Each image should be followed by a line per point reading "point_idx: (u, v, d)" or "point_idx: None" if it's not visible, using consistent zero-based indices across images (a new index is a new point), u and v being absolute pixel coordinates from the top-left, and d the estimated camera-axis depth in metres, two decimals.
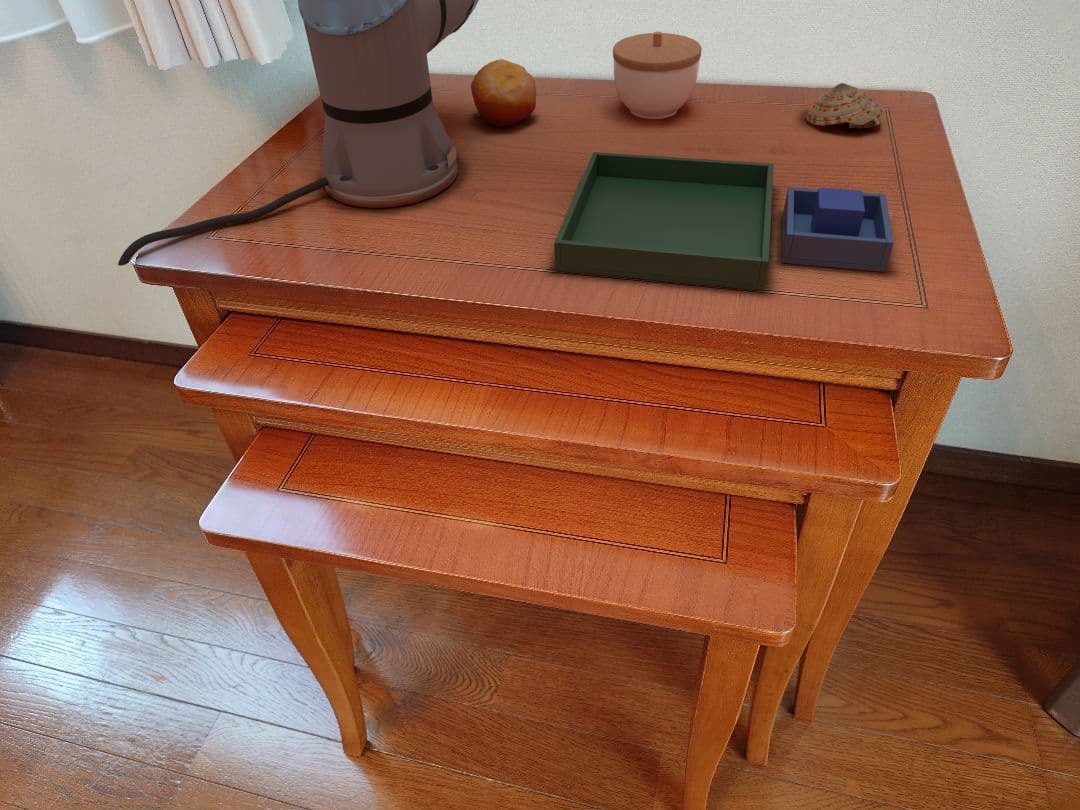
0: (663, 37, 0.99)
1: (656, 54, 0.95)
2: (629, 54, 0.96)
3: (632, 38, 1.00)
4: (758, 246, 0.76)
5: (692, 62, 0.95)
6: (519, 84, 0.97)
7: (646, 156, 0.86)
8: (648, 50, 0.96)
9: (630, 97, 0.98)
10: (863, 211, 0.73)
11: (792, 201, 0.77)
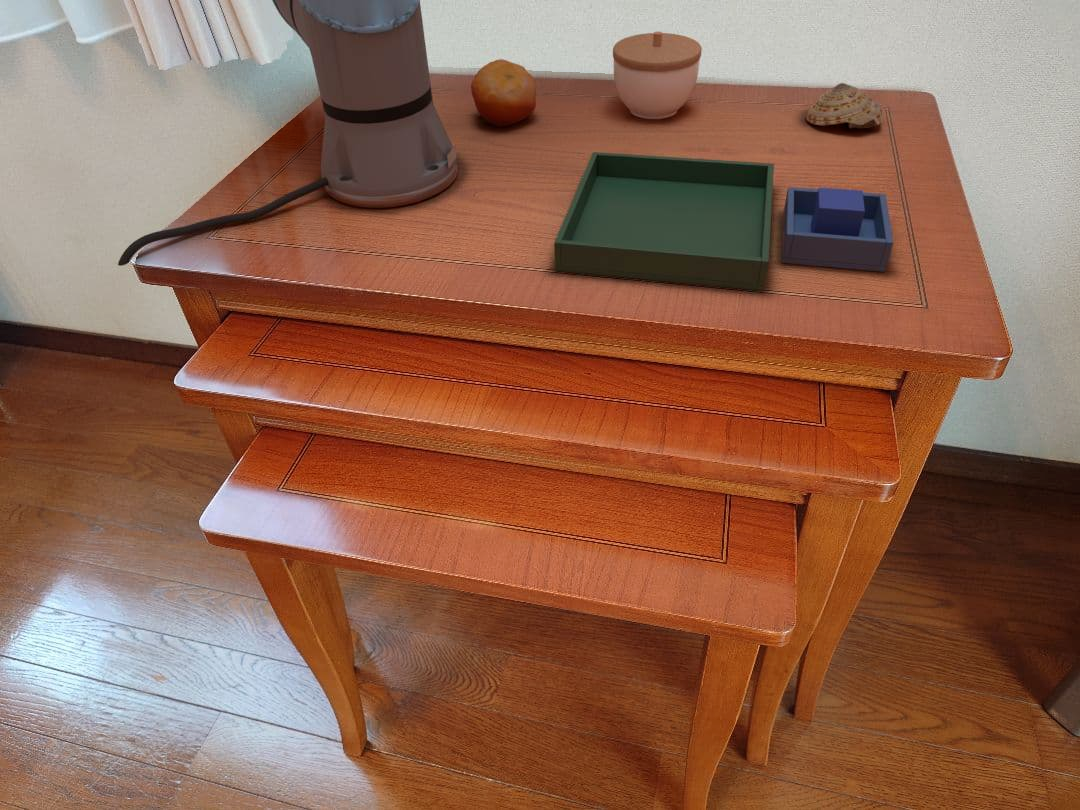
0: (663, 37, 0.99)
1: (656, 54, 0.95)
2: (629, 54, 0.96)
3: (632, 38, 1.00)
4: (758, 246, 0.76)
5: (692, 62, 0.95)
6: (519, 84, 0.97)
7: (646, 156, 0.86)
8: (648, 50, 0.96)
9: (630, 97, 0.98)
10: (863, 211, 0.73)
11: (792, 201, 0.77)
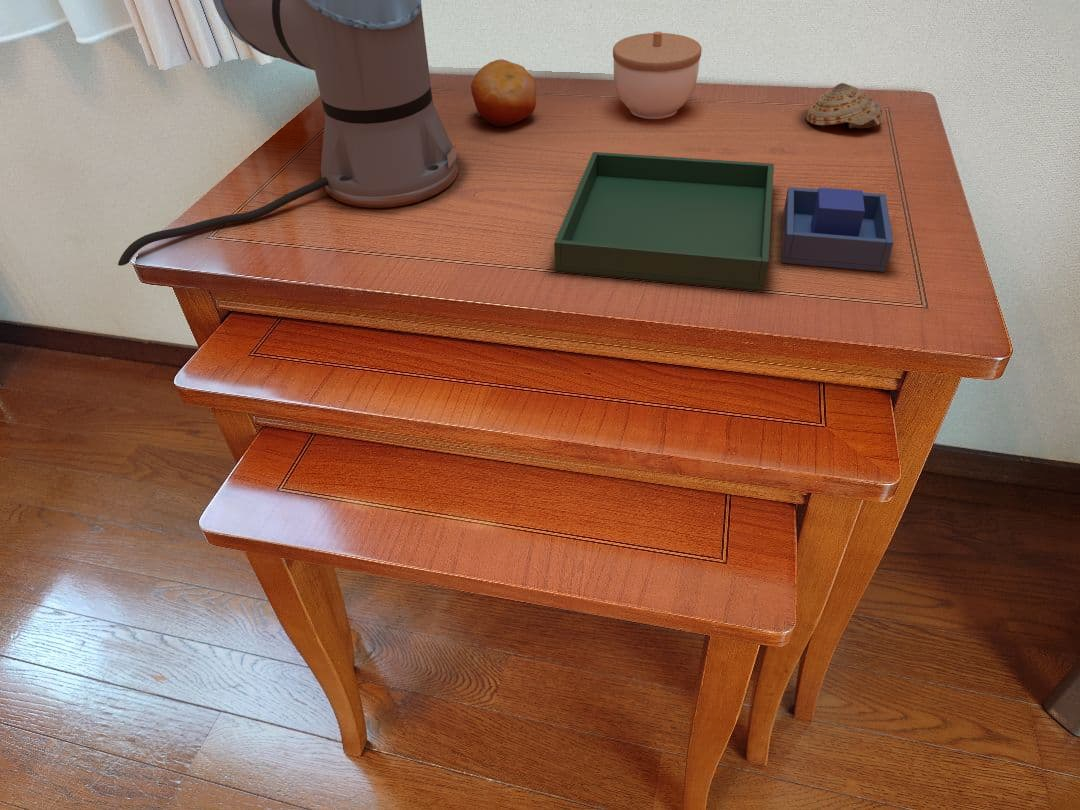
0: (663, 37, 0.99)
1: (656, 54, 0.95)
2: (629, 54, 0.96)
3: (632, 38, 1.00)
4: (758, 246, 0.76)
5: (692, 62, 0.95)
6: (519, 84, 0.97)
7: (646, 156, 0.86)
8: (648, 50, 0.96)
9: (630, 97, 0.98)
10: (863, 211, 0.73)
11: (792, 201, 0.77)
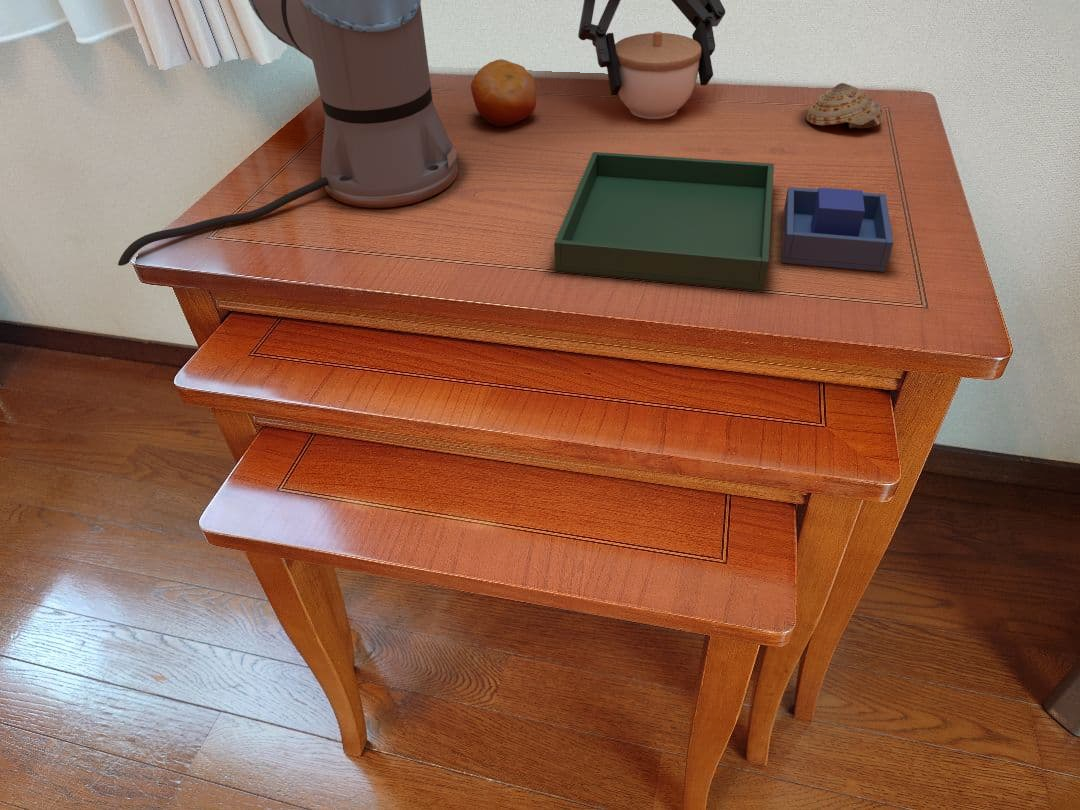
0: (663, 37, 0.99)
1: (656, 54, 0.95)
2: (629, 54, 0.96)
3: (632, 38, 1.00)
4: (758, 246, 0.76)
5: (692, 62, 0.95)
6: (519, 84, 0.97)
7: (646, 156, 0.86)
8: (648, 50, 0.96)
9: (630, 97, 0.98)
10: (863, 211, 0.73)
11: (792, 201, 0.77)
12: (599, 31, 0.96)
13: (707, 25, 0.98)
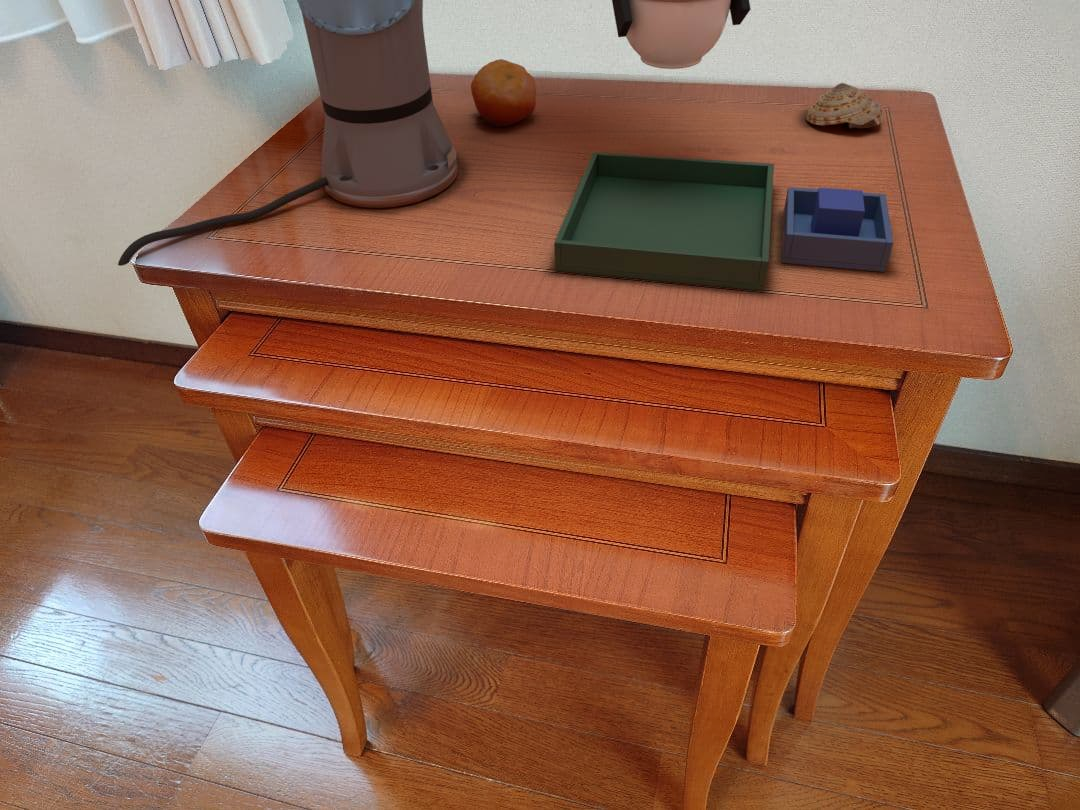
0: None
1: None
2: None
3: None
4: (758, 246, 0.76)
5: None
6: (519, 84, 0.97)
7: (646, 156, 0.86)
8: None
9: (643, 38, 0.75)
10: (863, 211, 0.73)
11: (792, 201, 0.77)
12: None
13: None
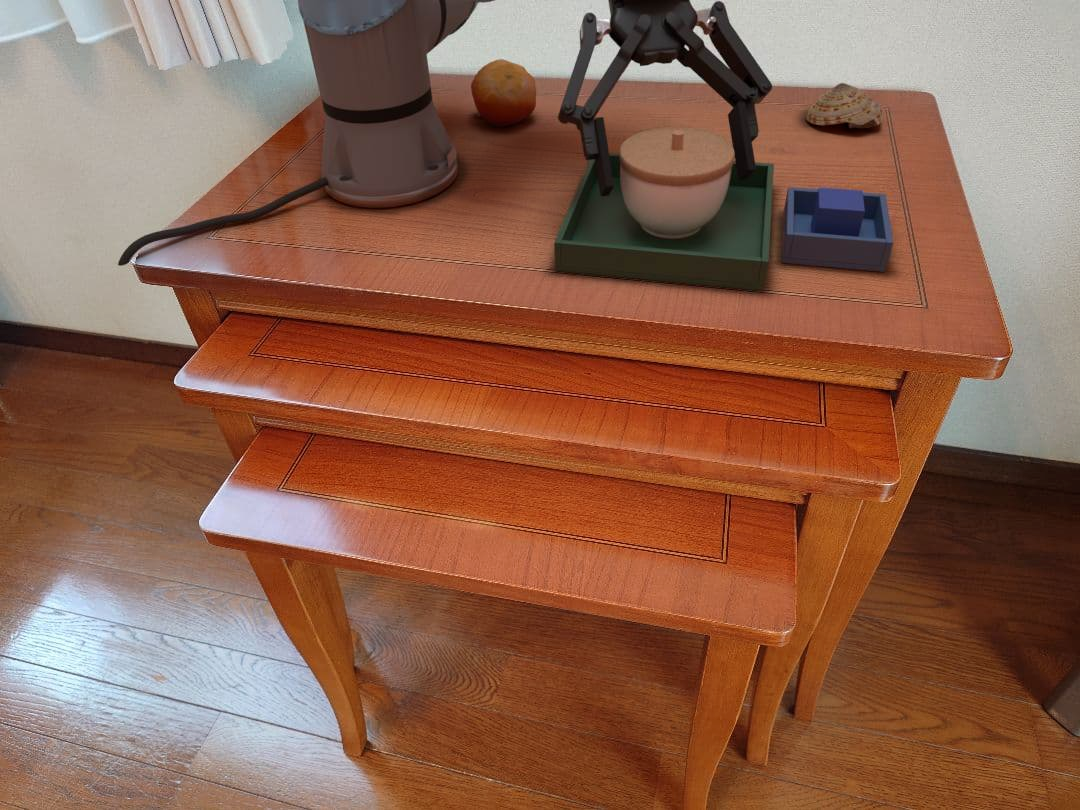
0: (684, 134, 0.77)
1: (676, 162, 0.73)
2: (640, 161, 0.73)
3: (644, 135, 0.77)
4: (758, 246, 0.76)
5: (723, 173, 0.73)
6: (519, 84, 0.97)
7: None
8: (665, 155, 0.74)
9: (642, 214, 0.76)
10: (863, 211, 0.73)
11: (792, 201, 0.77)
12: (584, 114, 0.73)
13: (749, 104, 0.75)
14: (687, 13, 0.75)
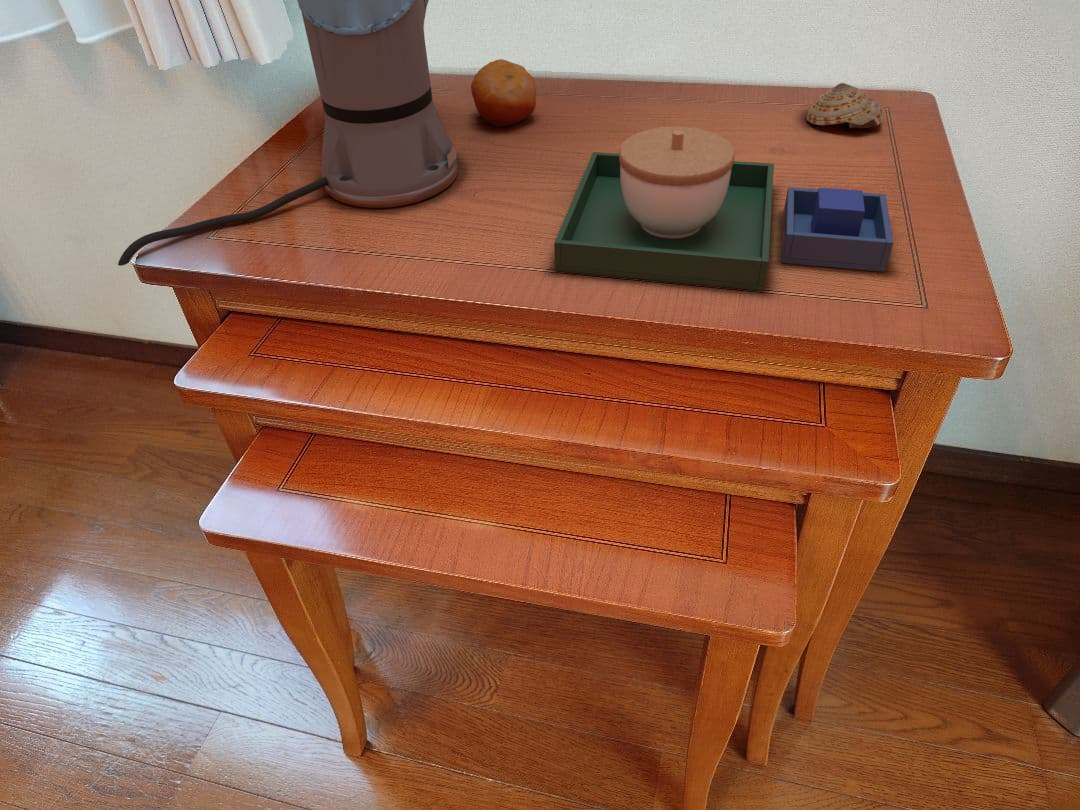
0: (684, 134, 0.77)
1: (676, 162, 0.73)
2: (641, 161, 0.73)
3: (644, 135, 0.77)
4: (758, 246, 0.76)
5: (723, 173, 0.73)
6: (519, 84, 0.97)
7: None
8: (665, 155, 0.74)
9: (642, 213, 0.76)
10: (863, 211, 0.73)
11: (792, 201, 0.77)
12: None
13: None
14: None
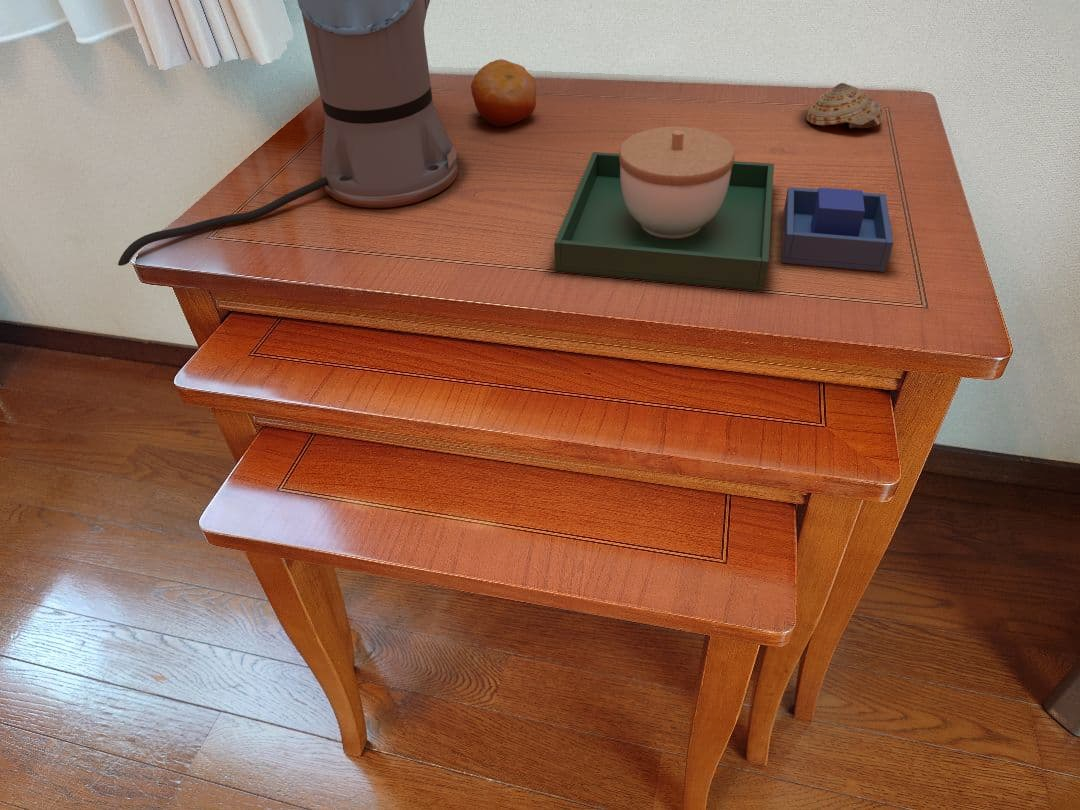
0: (684, 134, 0.77)
1: (676, 162, 0.73)
2: (640, 161, 0.73)
3: (644, 135, 0.77)
4: (758, 246, 0.76)
5: (723, 173, 0.73)
6: (519, 84, 0.97)
7: None
8: (665, 155, 0.74)
9: (642, 214, 0.76)
10: (863, 211, 0.73)
11: (792, 201, 0.77)
12: None
13: None
14: None
